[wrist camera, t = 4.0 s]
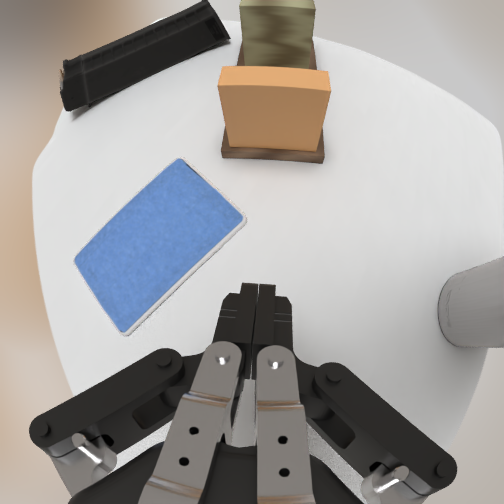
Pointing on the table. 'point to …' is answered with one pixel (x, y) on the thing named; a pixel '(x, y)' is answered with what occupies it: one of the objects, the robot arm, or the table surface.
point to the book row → (276, 58)
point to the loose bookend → (274, 106)
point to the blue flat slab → (156, 243)
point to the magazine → (139, 55)
